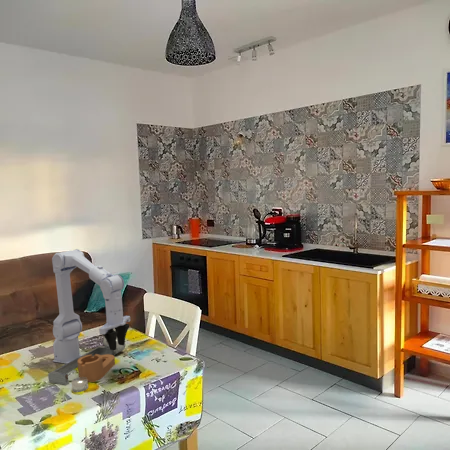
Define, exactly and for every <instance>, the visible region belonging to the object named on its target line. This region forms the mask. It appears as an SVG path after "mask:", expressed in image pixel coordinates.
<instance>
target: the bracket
mask: <svg viewBox="0 0 450 450" xmlns="http://www.w3.org/2000/svg"><path fill="white" fill-rule="evenodd" d="M115 365H116V360H115V355H114V356H113V355H110V354H106V355H99V354H95V355H94V356H92V354H91V355H86V356H83V357H81V358H79V359H78V367H77V371H78V372H77V373H78V377H87V380H88V384H90V383H94V382H97V381H99V380H101V379H102V378H104V377H105V375H106V374H107V373H109V372H110V370H112V368H114V366H115Z"/></svg>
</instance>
